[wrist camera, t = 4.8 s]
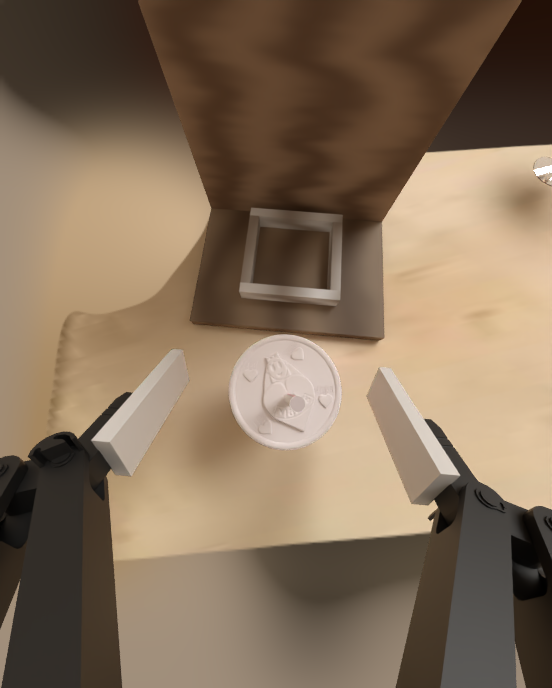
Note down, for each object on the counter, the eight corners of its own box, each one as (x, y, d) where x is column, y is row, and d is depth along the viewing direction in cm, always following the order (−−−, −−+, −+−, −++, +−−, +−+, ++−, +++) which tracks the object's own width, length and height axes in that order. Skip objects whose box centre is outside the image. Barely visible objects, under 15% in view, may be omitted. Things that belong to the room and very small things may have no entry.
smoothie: (263, 433, 20) (237, 531, 6) (239, 372, 21) (173, 341, 7) (323, 406, 20) (420, 439, 7) (296, 348, 22) (331, 277, 8)
